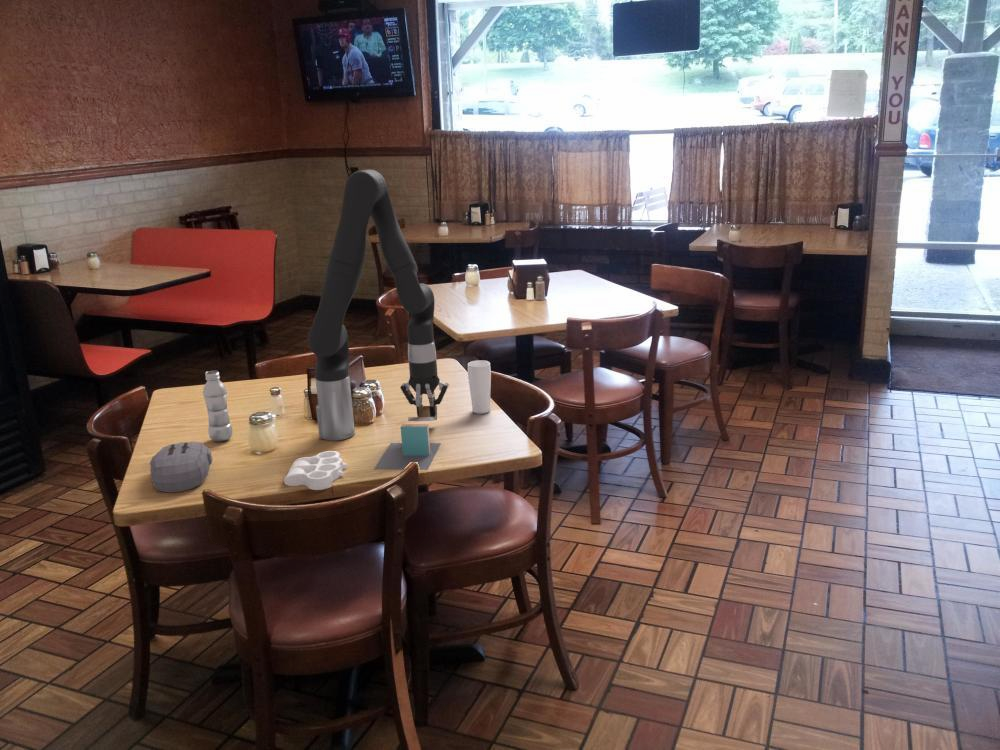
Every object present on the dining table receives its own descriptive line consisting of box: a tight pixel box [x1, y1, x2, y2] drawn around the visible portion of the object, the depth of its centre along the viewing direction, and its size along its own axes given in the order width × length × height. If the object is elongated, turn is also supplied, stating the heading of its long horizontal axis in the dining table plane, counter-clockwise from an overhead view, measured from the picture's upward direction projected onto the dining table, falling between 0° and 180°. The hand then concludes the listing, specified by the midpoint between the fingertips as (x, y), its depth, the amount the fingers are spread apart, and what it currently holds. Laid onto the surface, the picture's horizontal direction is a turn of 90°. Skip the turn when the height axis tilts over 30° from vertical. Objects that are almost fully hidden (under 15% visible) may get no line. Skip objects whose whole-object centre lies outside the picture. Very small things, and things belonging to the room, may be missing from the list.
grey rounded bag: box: [149, 441, 213, 493], centre depth 224 cm, size 15×8×20 cm
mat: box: [373, 442, 442, 471], centre depth 232 cm, size 14×18×1 cm
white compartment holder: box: [283, 450, 350, 491], centre depth 223 cm, size 3×18×15 cm
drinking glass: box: [467, 359, 492, 415], centre depth 262 cm, size 7×7×15 cm
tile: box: [400, 423, 431, 456], centre depth 231 cm, size 7×2×8 cm, turn 83°
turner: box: [407, 405, 438, 422], centre depth 244 cm, size 6×17×4 cm, turn 173°
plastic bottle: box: [202, 370, 233, 442], centre depth 248 cm, size 6×7×20 cm
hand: (426, 417), depth 245 cm, fingers closed on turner, 2 cm apart
